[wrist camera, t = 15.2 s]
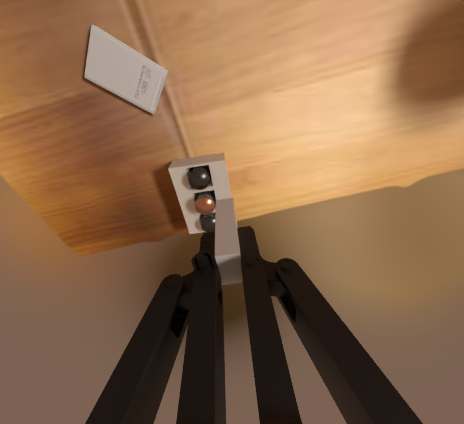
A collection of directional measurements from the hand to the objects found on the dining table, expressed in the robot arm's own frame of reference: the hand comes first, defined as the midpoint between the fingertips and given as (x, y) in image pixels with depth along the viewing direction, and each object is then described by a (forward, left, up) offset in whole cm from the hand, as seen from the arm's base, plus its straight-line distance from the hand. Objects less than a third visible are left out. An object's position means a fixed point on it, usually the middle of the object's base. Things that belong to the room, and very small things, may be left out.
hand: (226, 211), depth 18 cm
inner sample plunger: (-6, -7, -30) cm, 31 cm away
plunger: (-6, -19, -30) cm, 36 cm away
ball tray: (-6, -13, -30) cm, 34 cm away
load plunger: (-6, -13, -29) cm, 32 cm away
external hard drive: (-15, +13, -31) cm, 37 cm away
